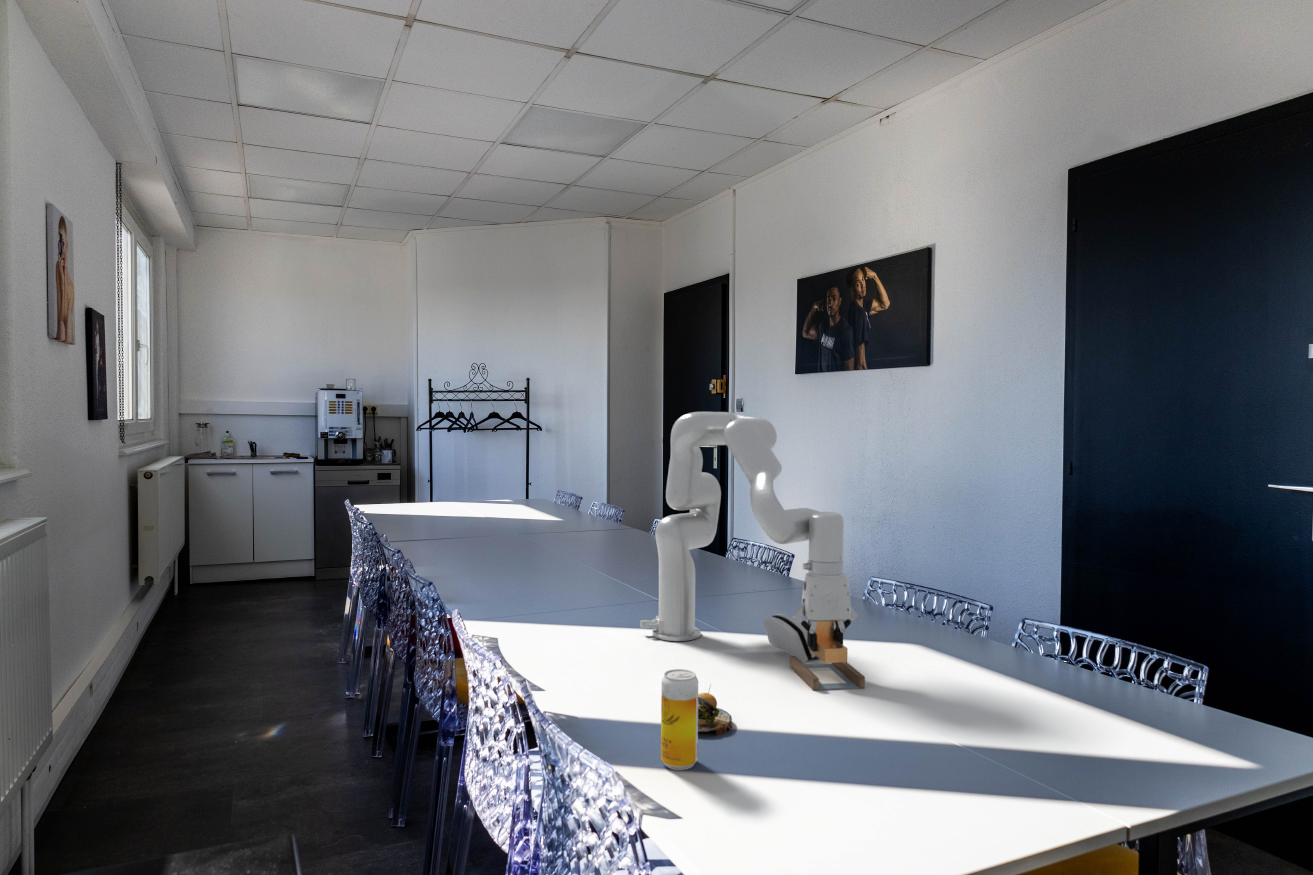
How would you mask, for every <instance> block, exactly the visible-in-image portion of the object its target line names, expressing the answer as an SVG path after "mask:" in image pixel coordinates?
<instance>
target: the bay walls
mask: <svg viewBox="0 0 1313 875" xmlns="http://www.w3.org/2000/svg"><path fill="white" fill-rule="evenodd" d="M831 664H832V665H834V666H835V667H836V668H837V669H838V670H839V671H841V672H842V673H843V674H844V675H845V676H846V677H848V678H849V679H850V680H851V681H852V682H853V683H855V684H856V685H857V686H858V687H859V690H860V689H865V688H866V686H865V684H866V676H865V675H864V674H862V673H861V672H860V671H859V670H857V669H856V668H855V667H854V666H853V665H851V664H850V663H849V662H848V661H847V662H838V663H831ZM805 665H806V664H804V663H803V661H801V660H799V659H798V658H797V657H795V656H792V655H789V668H790V669H791V670H792V671H793V673H795V674H796V675H797V676H798V677H799V678H800V679H801V680H802V681H803V682H804V683H805V684H806V685H807V686H808V687H809V688H810V689H811V690H812V691H815V692H816V691H820V690H819V678H818V677H817V676H816V675H815V674H814V673H812V672H811V671H810V670H809V669H808V668H807V667H806V666H805Z"/></svg>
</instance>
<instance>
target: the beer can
mask: <svg viewBox="0 0 1313 875" xmlns="http://www.w3.org/2000/svg"><path fill="white" fill-rule="evenodd" d="M698 694H699V680H698V678H697V674H696V672H695V671H692V670H689V669H684V668H683V669H682V668H677V669H676V668H674V669H670V670H667V671H665V672H664V675H663V677H662V678H661V702H660V703H661V706H660V707H661V709H660V710H661V711H660V713H661V714H660V715H661V717H660V721H661V722H660V726H661V727H660V733H661V734H660V759H661V761H662V763H663V765H664V766H665V767H666V768H668V769H671V770H675V771H683V770H688V769H689V770H690V769H691V768H693V767H694V766H695V763H697V761H698V759H699V758H698V753H699V752H698V750H699V748H698V746H699V744H698V743H699V739H698V738H699V735H698V734H699V731H698Z"/></svg>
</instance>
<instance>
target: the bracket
mask: <svg viewBox="0 0 1313 875" xmlns="http://www.w3.org/2000/svg"><path fill="white" fill-rule="evenodd" d="M834 629H835V623H834V621H818V622H817V625H816V629H815V633H816V634H817V651H816V652H813V651H812V650H811V649H810V648H809V650H810V651H811V652H813V653H814V654H815V655H816V656H817V657H819V658H820V660H821V661H822V662H823V664H832V663H838V662H847V663H848V649H849V648H848V647H846V646H845V645H844V643H843V644H841V643H840V642H838V641H837V640H836V639H834Z"/></svg>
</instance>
